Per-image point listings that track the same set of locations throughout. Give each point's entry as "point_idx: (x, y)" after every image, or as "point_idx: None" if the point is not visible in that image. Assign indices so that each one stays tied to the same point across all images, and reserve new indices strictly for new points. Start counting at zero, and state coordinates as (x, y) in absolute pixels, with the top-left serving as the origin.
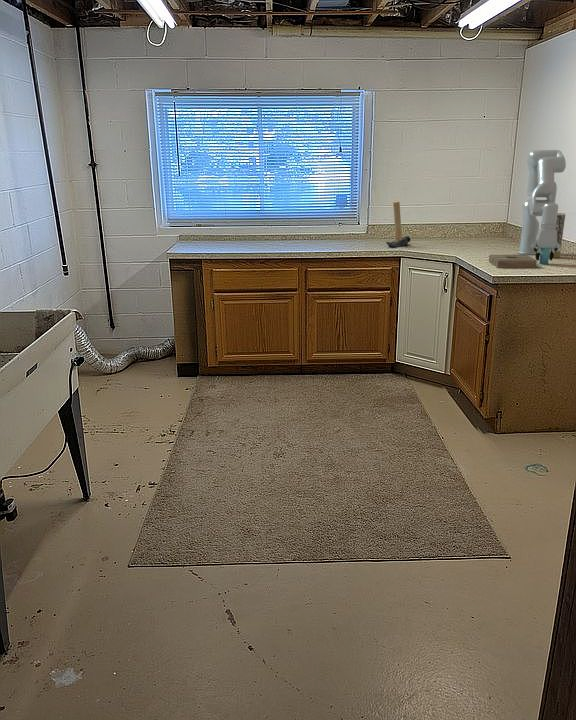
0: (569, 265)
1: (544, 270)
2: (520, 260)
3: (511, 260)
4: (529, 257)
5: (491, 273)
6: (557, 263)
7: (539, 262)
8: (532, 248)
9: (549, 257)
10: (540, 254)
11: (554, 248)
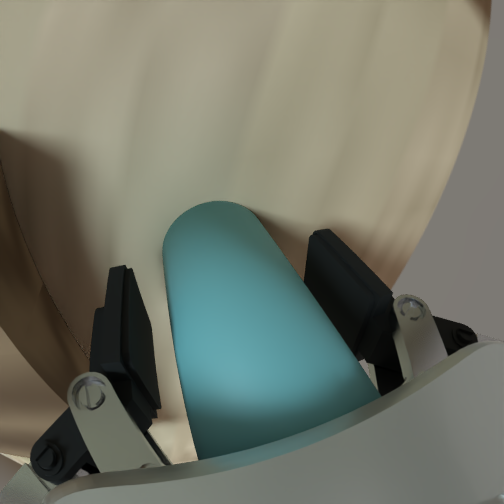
0: (393, 285)
1: (178, 439)
2: None
3: (4, 453)
4: (47, 402)
5: (13, 458)
6: (368, 207)
7: (163, 261)
8: (26, 467)
9: (323, 255)
10: (175, 354)
11: (453, 350)
